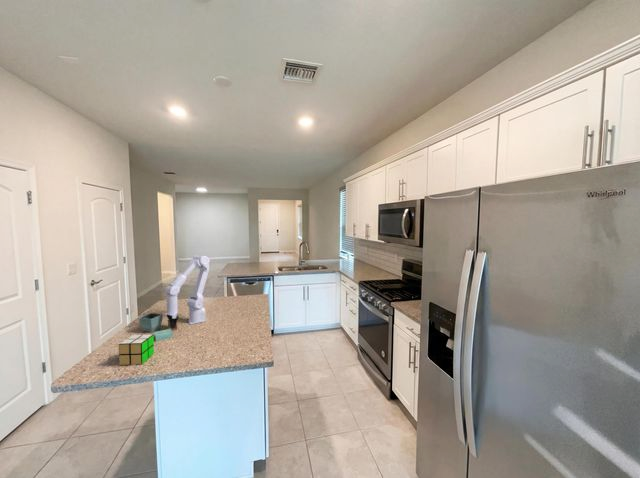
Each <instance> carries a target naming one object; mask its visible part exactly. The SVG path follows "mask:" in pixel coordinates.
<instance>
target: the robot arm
mask: <svg viewBox="0 0 640 478" xmlns="http://www.w3.org/2000/svg"><path fill="white" fill-rule="evenodd" d="M210 262H211V260H210V259H209V257H208V256H207V255H198V254H196V255H194V256H193V257H192V258H191V259H190V262H189V263H188V265H187V266H186V267H185V269H184V270H183V272H182V273H181V274H178V275H177V276H175V278H174V279H173V281H172V282H170V284H169V285H167V286H166V287H165V290H164V294H165V295H166V312H165V313H164V315H165V316H166V318H167V321H168V320H169V321H170V325H171V329H172V328H175V327H176V323H177V324H178V319H179V317H180V316H179V315H178V313H179V311H178V308H179V306H178V305H179V304H178V295H179V293H180V290H181V288H182V287H183V285H184V284H185V283H186V281H187V277H188V276H190V274H192V272H193V270H195V269H196V268H198V269H199V273H198V276H197V280H196V282H195V283H196V284H195V287H194V290H193V293H192V294H191V295H189V298H188V299H187V301H186V305H187V307H188V309H189V310H188V311H189V313H188V316H189V319H188V320H187V322H188V324H189V325H193V324H194V325H195V324H199V323H203V322H206V308H205V307H204V299H205V298H204V295H203V292H204V290H205V287H206V286H205V285H206V283H207V279H208V275H209V272H210Z"/></svg>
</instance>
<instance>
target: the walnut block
mask: <svg viewBox="0 0 640 478" xmlns="http://www.w3.org/2000/svg"><path fill="white" fill-rule="evenodd" d="M167 329H171V325H170V321H169V320H168V319H167ZM175 330H178V322H177V323H176V327H175V328H172V329H171V331H172V332H173V331H175Z"/></svg>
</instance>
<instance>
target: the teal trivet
mask: <svg viewBox="0 0 640 478" xmlns="http://www.w3.org/2000/svg"><path fill="white" fill-rule="evenodd" d="M153 332H154V333H153V335H154V341H155V342H160V341H164V340H170V339H173V338H174V337H173V330H172V331H171V329H168V328H166V329H162V330H158V331H157V330H156V331H153Z"/></svg>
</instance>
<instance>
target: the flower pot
mask: <svg viewBox="0 0 640 478" xmlns="http://www.w3.org/2000/svg"><path fill="white" fill-rule="evenodd" d="M163 316H164V314H163V313H152V312H151V313H149V314H146V315H143V316H140V317H139V318H138V320H139V324H140V327H141V329H142V331H144V332H148V333H153V332H156V331H157V330H159V329H160V327H161V325H162V323H163Z"/></svg>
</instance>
